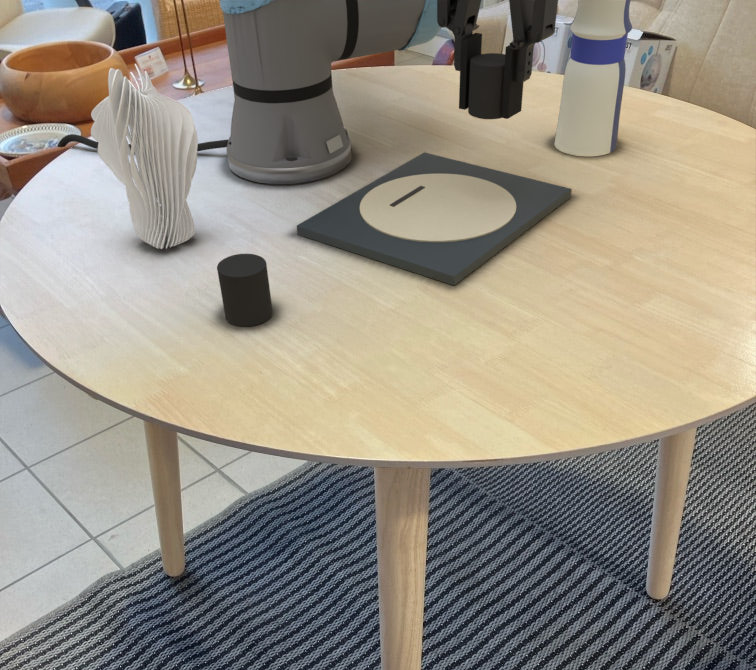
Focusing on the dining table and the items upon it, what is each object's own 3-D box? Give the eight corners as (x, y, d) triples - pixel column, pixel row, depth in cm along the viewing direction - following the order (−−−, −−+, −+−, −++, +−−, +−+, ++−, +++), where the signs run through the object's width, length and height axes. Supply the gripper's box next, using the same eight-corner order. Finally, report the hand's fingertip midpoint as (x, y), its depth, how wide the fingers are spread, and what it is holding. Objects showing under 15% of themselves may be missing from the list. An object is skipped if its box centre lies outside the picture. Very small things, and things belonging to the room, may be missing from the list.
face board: (297, 234, 91) (295, 222, 91) (424, 160, 105) (424, 149, 104) (454, 285, 82) (454, 273, 82) (570, 197, 96) (572, 186, 95)
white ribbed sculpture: (174, 216, 96) (138, 39, 83) (218, 239, 91) (187, 55, 79) (109, 242, 91) (62, 59, 79) (153, 267, 87) (110, 77, 75)
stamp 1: (215, 317, 79) (206, 268, 76) (247, 297, 82) (240, 248, 79) (250, 331, 77) (242, 281, 74) (282, 310, 80) (276, 261, 77)
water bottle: (560, 128, 112) (586, -105, 95) (626, 137, 109) (665, -102, 92) (540, 150, 106) (564, -92, 89) (608, 160, 103) (646, -88, 86)
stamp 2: (459, 114, 88) (461, 61, 84) (482, 102, 90) (485, 50, 87) (496, 122, 86) (500, 68, 82) (518, 109, 88) (523, 57, 85)
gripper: (396, -178, 74) (399, 105, 90) (578, -172, 66) (547, 137, 82) (444, -187, 78) (439, 85, 94) (621, -182, 70) (583, 114, 86)
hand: (489, 109), depth 88 cm, fingers closed on stamp 2, 4 cm apart
